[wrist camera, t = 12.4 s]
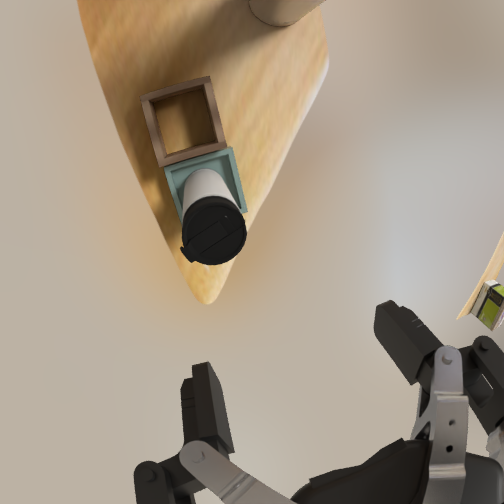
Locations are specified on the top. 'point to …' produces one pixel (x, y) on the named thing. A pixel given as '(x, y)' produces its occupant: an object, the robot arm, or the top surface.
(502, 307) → the tea box
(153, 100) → the holder
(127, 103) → the top surface
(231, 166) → the tray
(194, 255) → the travel mug
